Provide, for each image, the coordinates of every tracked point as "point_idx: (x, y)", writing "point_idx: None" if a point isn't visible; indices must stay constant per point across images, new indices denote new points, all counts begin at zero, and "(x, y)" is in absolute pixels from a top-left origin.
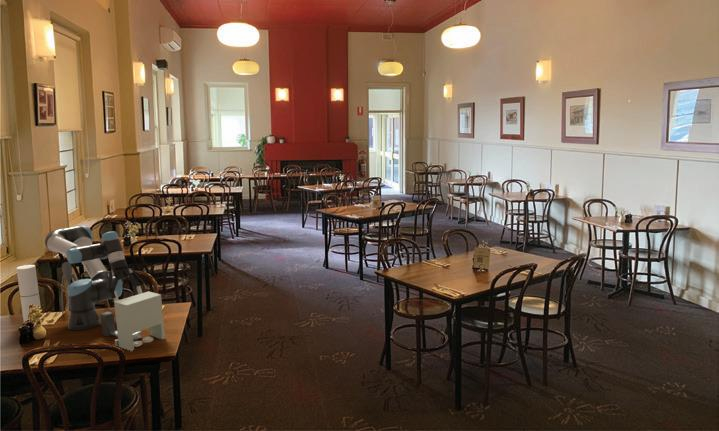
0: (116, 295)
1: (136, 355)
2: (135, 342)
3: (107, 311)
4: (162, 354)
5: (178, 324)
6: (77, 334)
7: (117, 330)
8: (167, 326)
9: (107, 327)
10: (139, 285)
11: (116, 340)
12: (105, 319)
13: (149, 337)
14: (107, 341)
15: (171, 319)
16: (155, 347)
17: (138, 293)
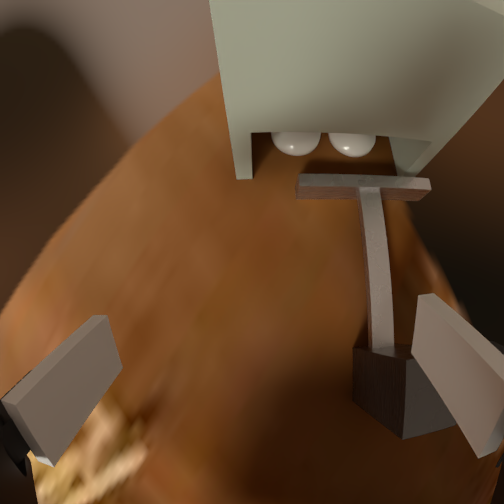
0: (481, 340)
1: None
2: (354, 139)
3: (407, 437)
4: None
5: (91, 196)
6: (437, 478)
7: (446, 141)
8: (128, 215)
9: None
10: (5, 420)
11: (427, 178)
12: None
13: (282, 137)
14: (421, 286)
15: (62, 286)
16: None
17: (90, 402)
